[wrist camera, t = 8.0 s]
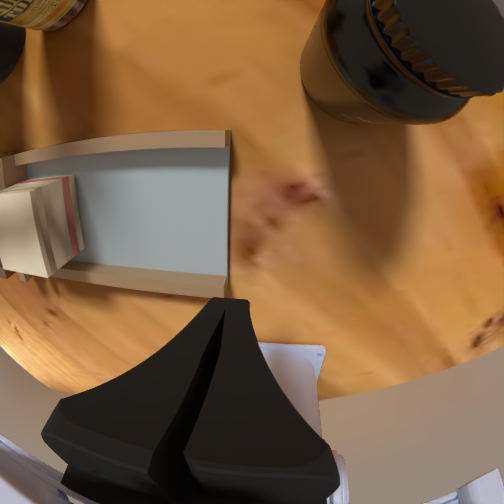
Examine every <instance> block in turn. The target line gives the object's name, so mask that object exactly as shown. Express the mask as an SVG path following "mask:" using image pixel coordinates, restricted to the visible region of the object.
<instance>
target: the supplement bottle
mask: <svg viewBox="0 0 504 504" xmlns="http://www.w3.org/2000/svg"><path fill="white" fill-rule="evenodd" d="M300 72H301V78H302V81H303V84H304V86H305V89H306V91H307V92H308V94H309V95H310V97H311V98H312V100H313V101H314V102H315V103H316V104H317V105H318V106H319V107H320V108H321V109H322V110H324V111H325V112H326V113H328V114H329V115H331V116H333V117H335V118H337V119H339V120H342V121H345V122H350V123H356V124H410V125H427V124H436V123H441V122H443V121H446V120H448V119H450V118H452V117H454V116H455V115H457V114H458V113H459V112H460V111H461V110H462V109H463V108H464V107H465V106H466V105H467V103H468V102H469V100H470V98H472V97H475V96H492V95H494V94H496V93H500V92H502V91H503V89H504V18H503V16H502V15H501V13H500V10H499V8H498V7H497V6H496V5H495V3H494V2H493V0H326V2H325V4H324V6H323V8H322V10H321V12H320V14H319V16H318V19H317V21H316V23H315V25H314V27H313V29H312V31H311V34H310V36H309V38H308V40H307V42H306V44H305V47H304V50H303V52H302V56H301V61H300Z"/></svg>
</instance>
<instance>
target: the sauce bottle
mask: <svg viewBox="0 0 504 504" xmlns="http://www.w3.org/2000/svg"><path fill="white" fill-rule="evenodd" d="M86 1H87V0H0V22H3V23H8V24H12V25H16V26H21V27H25V28H29V29H33V30H43V31H55V30H57V29H59V28H61V27H63V26H65V25H66V24H67V23H69V22H71V20H72V19H73V18H75V17H76V16H77V14H78V13H79V12H80V10H81V9H82V8H83V6H84V5H85V3H86Z"/></svg>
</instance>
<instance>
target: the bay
mask: <svg viewBox="0 0 504 504" xmlns="http://www.w3.org/2000/svg"><path fill="white" fill-rule="evenodd" d="M230 137H231V130H187V131H164V132H149V133H137V134H126V135H117V136H108V137H101V138H93V139H87V140H80V141H74V142H68V143H63V144H58V145H52V146H48V147H43V148H38V149H34V150H30V151H25V152H21V153H18V154H14V155H10V156H7V157H3V158H0V191H1V190H3V189H5V188H8V187H10V186H13V185H15V184H16V183H19V182H21V181H26V180H29V179H37V178H45V177H54V176H63V175H73V174H75V184H76V194H77V202H78V209H79V216H80V223H81V229H82V235H83V240H84V246H85V248H84V249H83V250H82V251H80V253H79V254H78V255H77V256H75V257H73V258H72V259H70V260H69V261H68V262H67V263H66V264H64V265H63V266H62V267H61V268H60V269H58V271H57V272H56V273H55V274H54V275H51V276H50V277H56V278H61V279H67V280H73V281H80V282H86V283H92V284H99V285H106V286H113V287H120V288H128V289H135V290H143V291H151V292H160V293H168V294H177V295H187V296H196V297H207V298H213V297H221V298H224V296H225V293H226V289H227V286H228V225H229V172H230ZM18 275H19V278H20V281H25V282H27V281H28V280H29V279H30V278H31V277H33V276H34V275H30V274H25V273H20V272H18Z"/></svg>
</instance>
